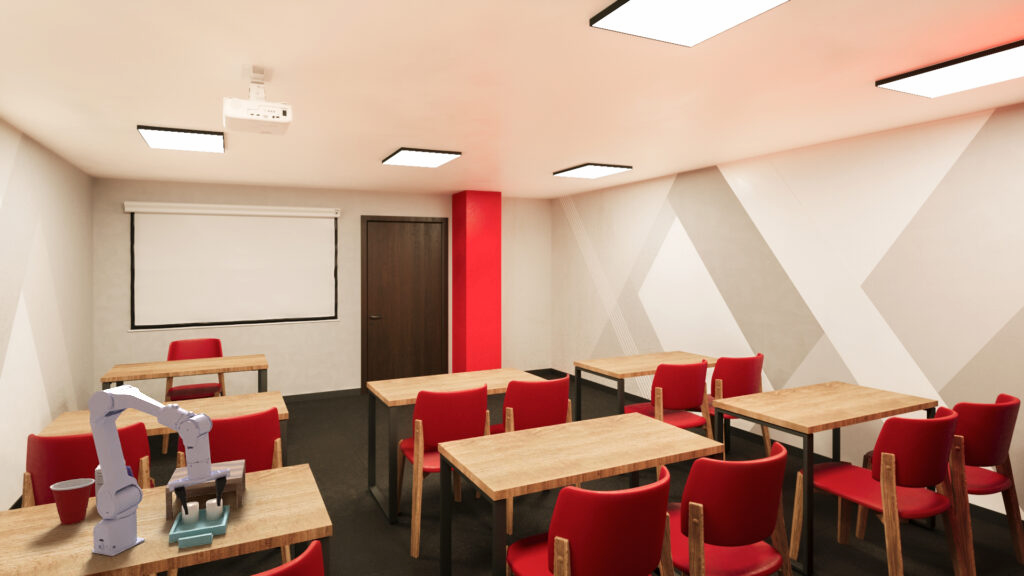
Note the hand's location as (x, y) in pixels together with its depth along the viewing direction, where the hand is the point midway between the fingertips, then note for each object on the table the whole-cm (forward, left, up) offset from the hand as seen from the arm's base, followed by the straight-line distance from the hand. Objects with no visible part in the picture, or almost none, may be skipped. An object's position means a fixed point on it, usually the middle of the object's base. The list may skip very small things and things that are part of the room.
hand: (202, 509), depth 151 cm
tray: (+9, +11, -11) cm, 18 cm away
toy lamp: (+7, +38, -11) cm, 40 cm away
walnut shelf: (+25, +25, -11) cm, 37 cm away
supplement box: (+17, +57, -11) cm, 61 cm away
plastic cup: (+3, +54, -11) cm, 55 cm away
